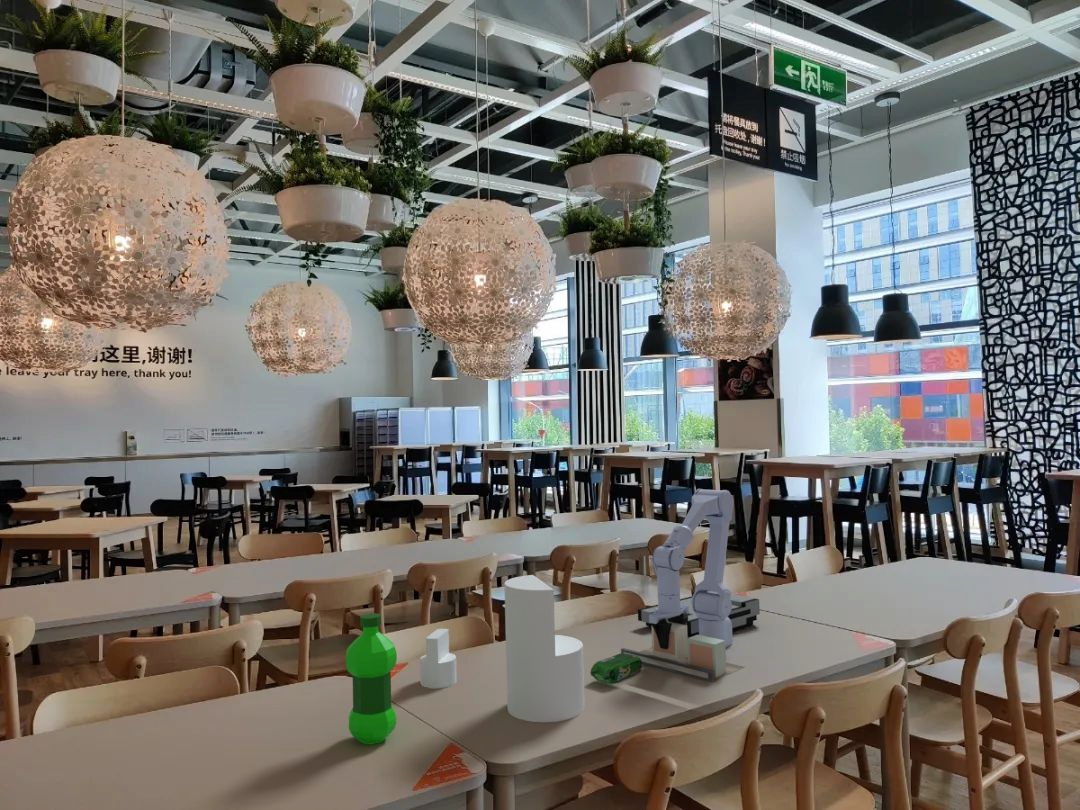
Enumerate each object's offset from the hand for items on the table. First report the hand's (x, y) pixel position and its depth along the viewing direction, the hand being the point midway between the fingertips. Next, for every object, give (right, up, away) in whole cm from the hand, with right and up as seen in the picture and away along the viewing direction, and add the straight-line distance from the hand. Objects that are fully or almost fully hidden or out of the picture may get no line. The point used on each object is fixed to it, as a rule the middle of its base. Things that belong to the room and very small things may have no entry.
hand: (670, 646), depth 197 cm
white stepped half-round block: (-59, -7, -8) cm, 60 cm away
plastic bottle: (-68, -6, -41) cm, 80 cm away
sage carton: (+8, -4, -8) cm, 12 cm away
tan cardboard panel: (+3, -5, 0) cm, 6 cm away
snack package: (-15, -6, -8) cm, 18 cm away
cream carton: (0, -3, 0) cm, 3 cm away
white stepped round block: (-32, -6, -26) cm, 42 cm away
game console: (+15, -6, +36) cm, 39 cm away
